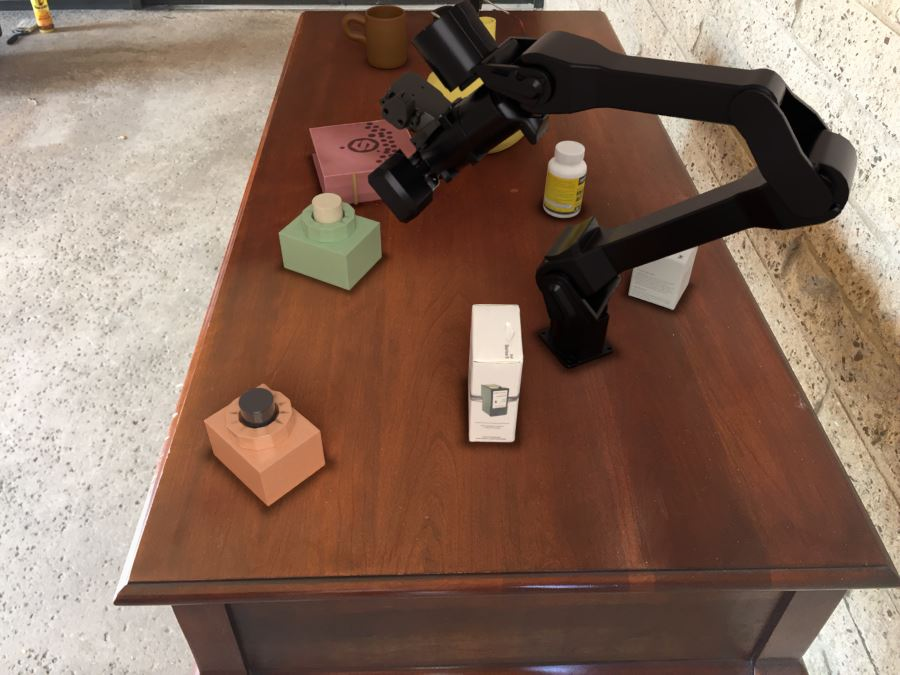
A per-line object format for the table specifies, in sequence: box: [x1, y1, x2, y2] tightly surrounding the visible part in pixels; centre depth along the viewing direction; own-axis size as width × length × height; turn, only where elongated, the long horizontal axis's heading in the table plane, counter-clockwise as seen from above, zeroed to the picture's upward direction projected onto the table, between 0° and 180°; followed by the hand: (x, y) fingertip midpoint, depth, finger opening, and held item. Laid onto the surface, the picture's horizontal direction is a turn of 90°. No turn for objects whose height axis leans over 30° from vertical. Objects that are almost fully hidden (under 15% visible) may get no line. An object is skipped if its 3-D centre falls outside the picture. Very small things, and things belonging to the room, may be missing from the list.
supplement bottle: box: [542, 140, 588, 219], centre depth 109 cm, size 5×5×10 cm
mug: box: [340, 4, 408, 70], centre depth 145 cm, size 12×8×9 cm, turn 92°
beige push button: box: [311, 192, 343, 224], centre depth 96 cm, size 4×4×2 cm
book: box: [308, 119, 416, 205], centre depth 116 cm, size 14×15×5 cm
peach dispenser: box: [203, 383, 326, 507], centre depth 75 cm, size 9×7×7 cm
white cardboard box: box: [628, 246, 699, 311], centre depth 96 cm, size 6×6×7 cm
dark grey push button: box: [238, 387, 277, 428], centre depth 73 cm, size 3×3×2 cm
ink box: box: [467, 303, 524, 443], centre depth 79 cm, size 9×5×12 cm, turn 0°
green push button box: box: [278, 202, 383, 291], centre depth 99 cm, size 10×8×8 cm
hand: (388, 190), depth 90 cm, fingers closed
